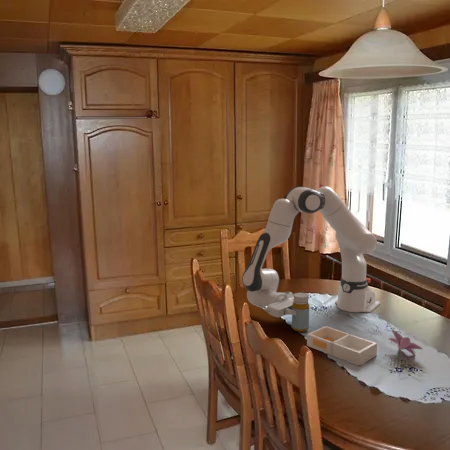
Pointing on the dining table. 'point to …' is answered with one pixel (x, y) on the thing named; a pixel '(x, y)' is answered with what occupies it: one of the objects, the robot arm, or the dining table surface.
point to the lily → (404, 343)
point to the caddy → (342, 345)
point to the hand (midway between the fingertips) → (302, 311)
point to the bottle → (300, 312)
